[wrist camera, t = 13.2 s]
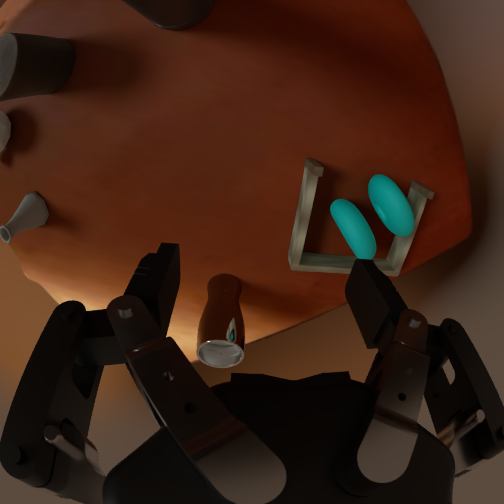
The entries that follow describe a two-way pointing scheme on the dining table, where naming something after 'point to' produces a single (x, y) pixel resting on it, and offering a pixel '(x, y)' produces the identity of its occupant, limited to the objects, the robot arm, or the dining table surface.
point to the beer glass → (222, 324)
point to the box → (341, 262)
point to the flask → (25, 217)
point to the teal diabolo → (388, 209)
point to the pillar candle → (33, 64)
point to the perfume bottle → (4, 130)
